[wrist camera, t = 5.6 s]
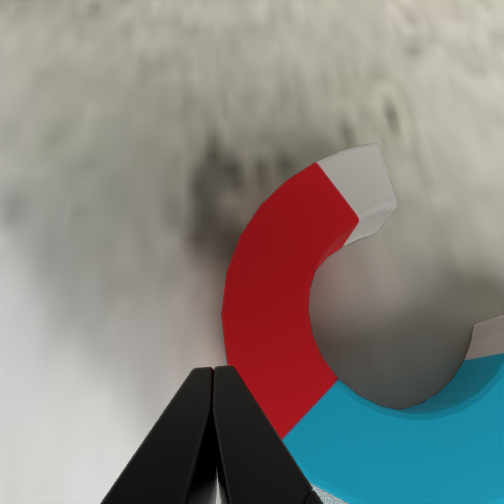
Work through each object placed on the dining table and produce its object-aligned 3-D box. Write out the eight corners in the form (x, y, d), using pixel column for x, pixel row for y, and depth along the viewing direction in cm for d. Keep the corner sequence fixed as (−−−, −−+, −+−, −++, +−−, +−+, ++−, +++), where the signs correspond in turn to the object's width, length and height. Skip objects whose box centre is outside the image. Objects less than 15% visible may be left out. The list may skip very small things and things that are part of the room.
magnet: (398, 593, 12) (569, 364, 15) (440, 643, 10) (637, 356, 12) (157, 315, 15) (337, 162, 18) (141, 297, 13) (354, 121, 15)
